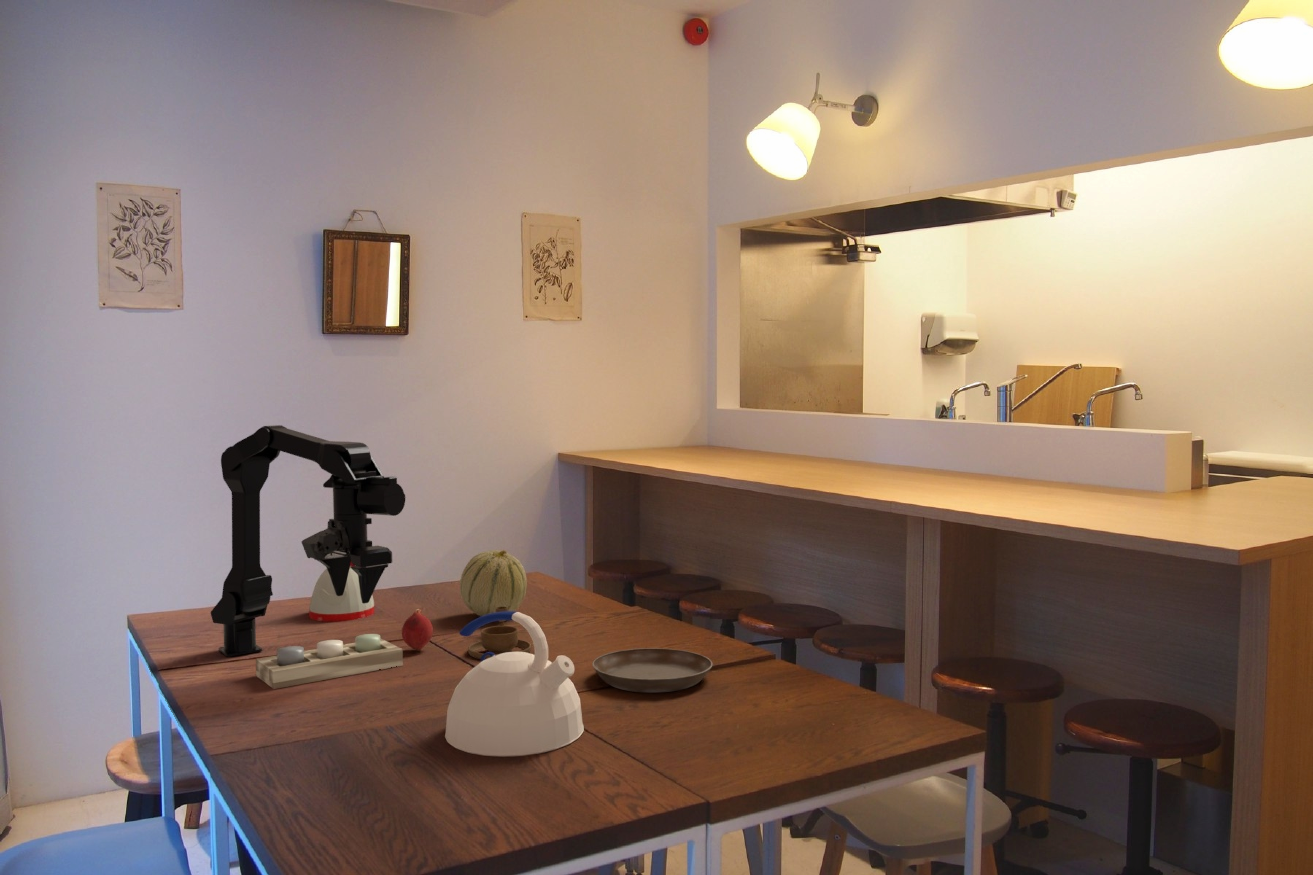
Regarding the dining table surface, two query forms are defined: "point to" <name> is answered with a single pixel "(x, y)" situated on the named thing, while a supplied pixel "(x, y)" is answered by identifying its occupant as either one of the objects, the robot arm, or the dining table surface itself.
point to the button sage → (367, 643)
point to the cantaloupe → (493, 582)
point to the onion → (417, 630)
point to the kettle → (514, 699)
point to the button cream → (329, 649)
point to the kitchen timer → (338, 600)
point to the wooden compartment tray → (328, 665)
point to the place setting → (498, 639)
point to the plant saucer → (652, 669)
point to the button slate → (290, 655)
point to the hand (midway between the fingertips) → (352, 599)
